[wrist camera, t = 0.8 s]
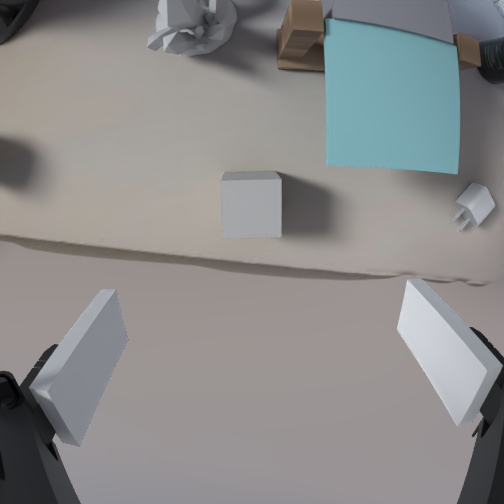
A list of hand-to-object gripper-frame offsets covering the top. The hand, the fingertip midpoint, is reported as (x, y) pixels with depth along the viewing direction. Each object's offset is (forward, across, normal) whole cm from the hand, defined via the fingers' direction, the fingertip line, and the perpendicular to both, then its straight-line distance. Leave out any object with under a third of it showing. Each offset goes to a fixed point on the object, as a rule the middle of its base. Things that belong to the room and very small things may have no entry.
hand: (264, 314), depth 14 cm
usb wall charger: (+27, +31, -1) cm, 41 cm away
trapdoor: (+19, +13, +14) cm, 27 cm away
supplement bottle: (+27, +36, +22) cm, 50 cm away
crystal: (+27, -6, +23) cm, 36 cm away
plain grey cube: (+27, 0, 0) cm, 27 cm away
